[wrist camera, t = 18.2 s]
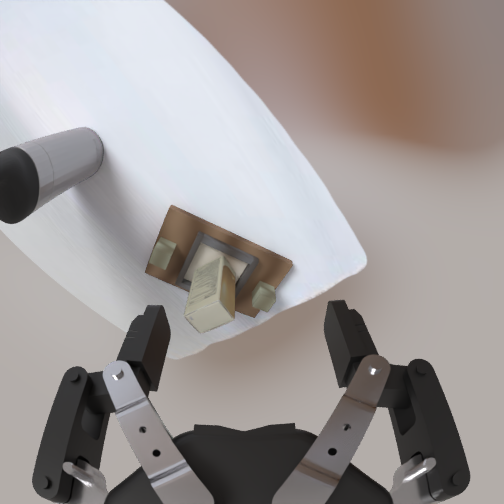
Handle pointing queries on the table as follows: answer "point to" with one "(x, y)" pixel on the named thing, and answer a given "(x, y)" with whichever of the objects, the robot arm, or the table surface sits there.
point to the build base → (210, 248)
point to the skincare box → (211, 296)
